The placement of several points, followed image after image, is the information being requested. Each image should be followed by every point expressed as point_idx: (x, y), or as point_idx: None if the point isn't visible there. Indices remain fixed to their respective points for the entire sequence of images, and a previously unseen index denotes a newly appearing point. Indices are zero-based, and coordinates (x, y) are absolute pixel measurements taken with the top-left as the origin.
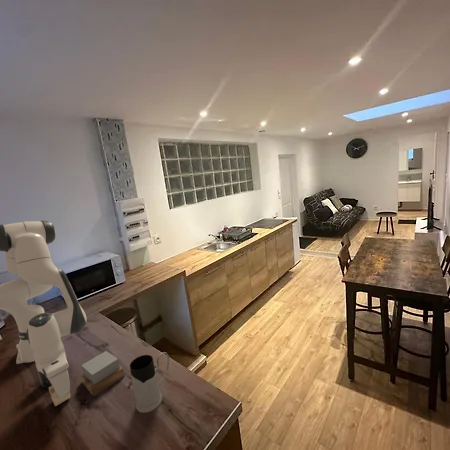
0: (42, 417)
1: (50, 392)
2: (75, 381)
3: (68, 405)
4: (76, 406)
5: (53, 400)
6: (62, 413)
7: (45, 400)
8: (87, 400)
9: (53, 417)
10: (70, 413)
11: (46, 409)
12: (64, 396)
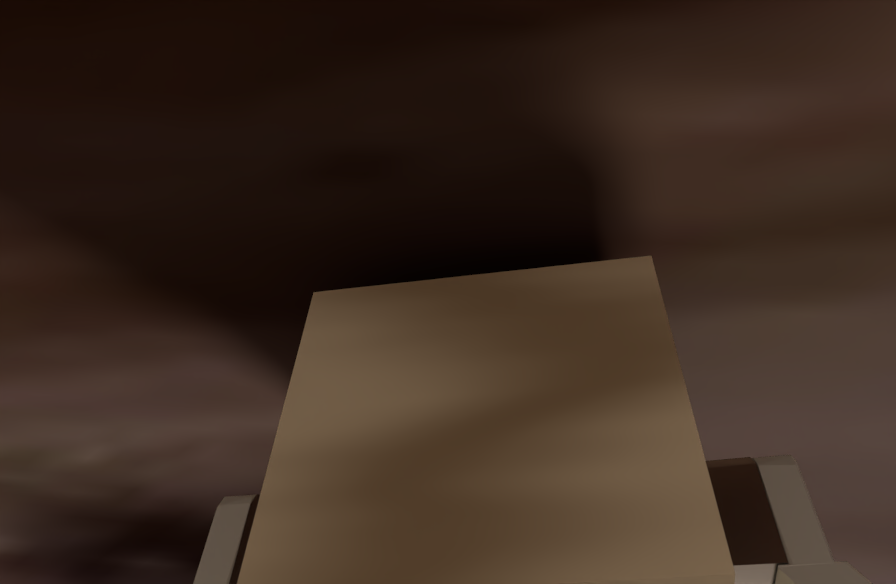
0: (229, 5)
1: (532, 495)
2: (843, 535)
3: (253, 408)
4: (137, 477)
5: (346, 383)
6: (93, 326)
7: (876, 95)
8: (176, 571)
9: (72, 200)
10: (14, 409)
11: (472, 98)
12: None
